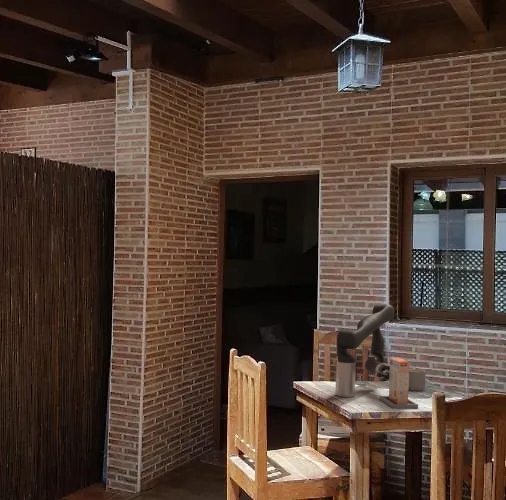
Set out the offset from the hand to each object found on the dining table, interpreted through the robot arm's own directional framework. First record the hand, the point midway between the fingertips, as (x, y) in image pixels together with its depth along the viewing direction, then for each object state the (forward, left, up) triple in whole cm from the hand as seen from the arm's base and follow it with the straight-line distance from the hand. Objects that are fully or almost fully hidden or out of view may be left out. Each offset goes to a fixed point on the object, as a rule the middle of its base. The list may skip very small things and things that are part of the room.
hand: (395, 376), depth 332 cm
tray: (0, -5, -12) cm, 13 cm away
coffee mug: (+23, +35, -13) cm, 44 cm away
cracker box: (+1, -3, -12) cm, 12 cm away
